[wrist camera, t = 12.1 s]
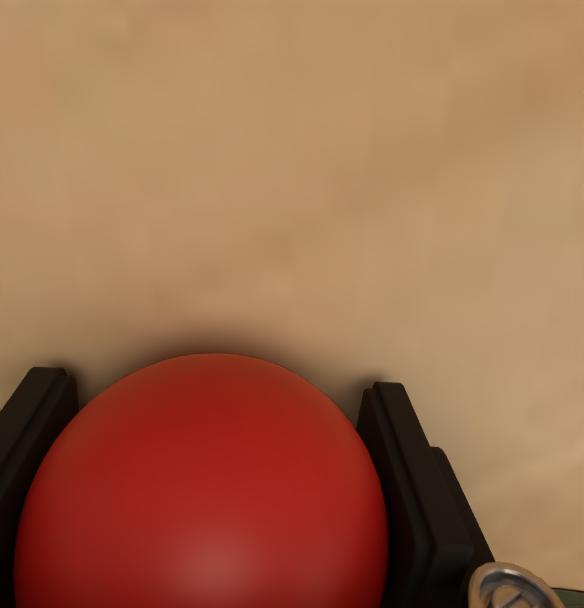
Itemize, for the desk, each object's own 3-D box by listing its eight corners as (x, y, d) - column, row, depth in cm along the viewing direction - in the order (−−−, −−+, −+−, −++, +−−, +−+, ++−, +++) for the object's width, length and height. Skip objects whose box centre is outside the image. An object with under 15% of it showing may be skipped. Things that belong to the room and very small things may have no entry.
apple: (94, 509, 12) (-47, 914, 6) (70, 287, 9) (-198, 630, 4) (335, 513, 13) (401, 886, 7) (374, 304, 10) (525, 624, 4)
